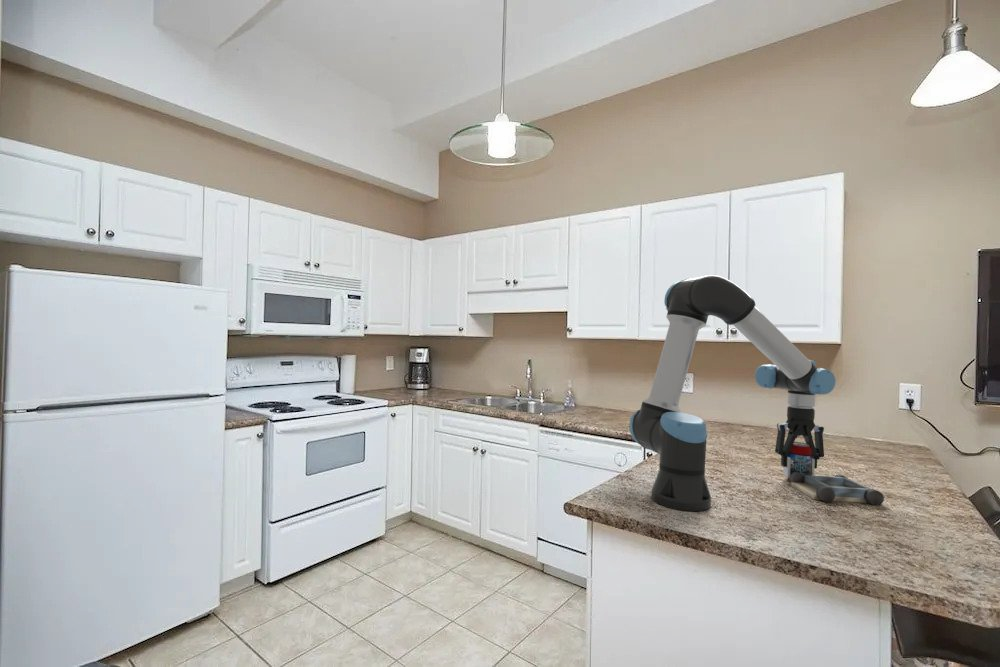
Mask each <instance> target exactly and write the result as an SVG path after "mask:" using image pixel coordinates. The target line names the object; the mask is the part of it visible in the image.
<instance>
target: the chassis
mask: <svg viewBox="0 0 1000 667" xmlns="http://www.w3.org/2000/svg"><path fill="white" fill-rule="evenodd" d="M788 479H789V481H790V487H792V488H793V489H795V490H797V491H799V492H801V493H802V494H804V495H806V496H807V497H809V498H811V499H812V500H817V501H822V502H825V503H832V502H833V501H834V502H836V501H837V502H847V503H849V502H850V503H851V502H852V503H865V504H866V503H868V504H872V505H873V506H880V505H881V504H883V503H884V501H885V496H884V494H883V493H882V492H881V491H879V490H877V489H874V488H870V487H868V486H865V485H863V484H861V483H859V482H857V481H854V480H852V479H850V478H848V477H847V476H846V475H842V474H839V473H838V474H836V475H833V476H829V475H828V476H827V475H814V476H813V475H805V476H804V475H802V474H801V473H798V472H793V473H792V474H791V475H790V477H789V478H788Z"/></svg>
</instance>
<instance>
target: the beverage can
mask: <svg viewBox="0 0 1000 667" xmlns="http://www.w3.org/2000/svg"><path fill="white" fill-rule="evenodd" d="M788 457H790V458H791V465H790V475H791V474H792V473H793V472H798V473H801V474H802V475H804V476H805V475H811V463H812V450H811V448H810V446H809V444H806V442H801V441H794V443H793V446H792V448H791V451H790V453H789V455H788Z"/></svg>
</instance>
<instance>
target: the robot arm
mask: <svg viewBox="0 0 1000 667" xmlns="http://www.w3.org/2000/svg"><path fill="white" fill-rule="evenodd" d="M756 304H757V303H756V300H754V298H753V297H751V295H749V293H747V292H746V291H745V290H743V288H741V287H740V286H739V285H737V284H735V283H734V282H732V281H731V280H729V279H727V278H725V277H723V276H720V275H717V274H716V275H715V274H713V275H712V274H708V275H704V276H699V277H693V278H684V279H681V280H679V281H676V282H675V283H673V284H672V285H671V286H669V288H668V289H667V290H666V293H665V294H664V306H665V309H666V311H667V313H666V316H665V317H666V319H667V321H668V322H669V325H668V329H667V332H666V335H665V339H664V343H663V347H662V350H661V354H660V358H659V360H658V364H657V368H656V372H655V375H654V378H653V382H652V387H651V390H650V393H649V396H648V397H647V398H646V399H644V400H642V403H641V406H640V409H638V410H636V411H635V412H634V413H633V414H632V416H631V418H630V420H629V426H628V427H629V433H630V435H631V437H632V439H633V440H634V442H635V443H636V444H638V445H639V446H640V447H642V448H644V449H645V450H650V451H651V452H653V453H656V454H658V455H659V465H658V473H657V476H656V478H655V480H654V482H653V485H652V489H651V499H652V500H653V501H654V502H656V503H657V504H659V505H661V506H662V507H663V506H664V507H666V508H669V509H675V510H679V511H685V512H686V511H687V512H704V511H707V510H709V509H710V508H711V506H712V497H711V494H710V490H709V486H708V483H707V480H706V459H707V457H706V452H707V438H708V434H707V425H706V424H707V423H706V422H705V421H704V420H703V419H702V418H700V417H699V416H697V415H693V414H690V413H684V412H683V411H682V410H681V409H680V407H679V404H680V401H681V397H682V392H683V390H684V389H683V388H684V385H685V381H686V378H687V374H688V371H689V366H690V364H691V360H692V356H693V353H694V348H695V345H696V342H697V338H698V335H699V331H700V330H701V329H702V328H705V327H706V325H707V321H708V318H709V316H713V317H717V318H718V319H721V320H722V321H723V322H724V323H725V324H726V325H728V326H733V327H735V329H737V330H738V332H740V333H741V334H742V335H743V337H745V338H746V339H747V340H748V341H749V342H750V343H752V345H753V346H755V347H756V349H757V350H758V351H759V352H761V353H762V354H763V356H765V357H766V358H767V359H768V360H769V361H770V362H771V364H770V363H769V364H762V365H760V366H758V367H757V368H756V370H755V373H754V376H755V377H754V379H755V382H756V384H757V385H758V386H759V387H761V388H764V389H769V390H770V389H778V390H785V391H787V405H788V406H787V408H786V410H787V411H786V418H787V419H786V421H785V422H783V423H779V422H778V423H777V424H776V428H777V435H776V441H775V449H774V452H775V454H777V455H779V456H780V465H781V467H783V470H782V472H783V473H782V476H783V477H786V479H789V477H790V465H791V458H790V457H788V455H789V453H790V451H791V448H792V446H793V443H794V442H796V441H795V440H796V439H797V438H798V437H799V436H802V438H804V441H805V442H804V443H806V444H809V446H810V448H811V450H812V463H811V475H813V476H815V469H817V468H818V461H819V460H820V458H825V448H824V436H823V434H824V431H825V427H824V426H821V425H816V424H815V421H814V420H815V414H816V413H815V412H816V410H815V406H816V395H822V396H823V395H828V394H830V393H831V392H832V391H833V390H834V389H835V387H836V377H835V375H834V373H833V372H832V370H829V369H827V368H823V367H817V363H816V362H815V360H811V359H809V358H807V356H806V355H805V354H803V352H802V351H801V350H800V349H798V348H797V346H796V345H795V344H793V343H792V342H791V340H790V339H788V337H787V336H785V334H783V332H781V331H780V330H779V329H778V328H777V326H775V324H773V323H772V322H771V321H770V319H768V317H766V315H764V314H763V313H762V312H761V311H760V310H759V309H758V308H757V307H756ZM787 428H788V432H787V436H786V430H787ZM812 431H814V433H813V435H814V440H813V435H812Z"/></svg>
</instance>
